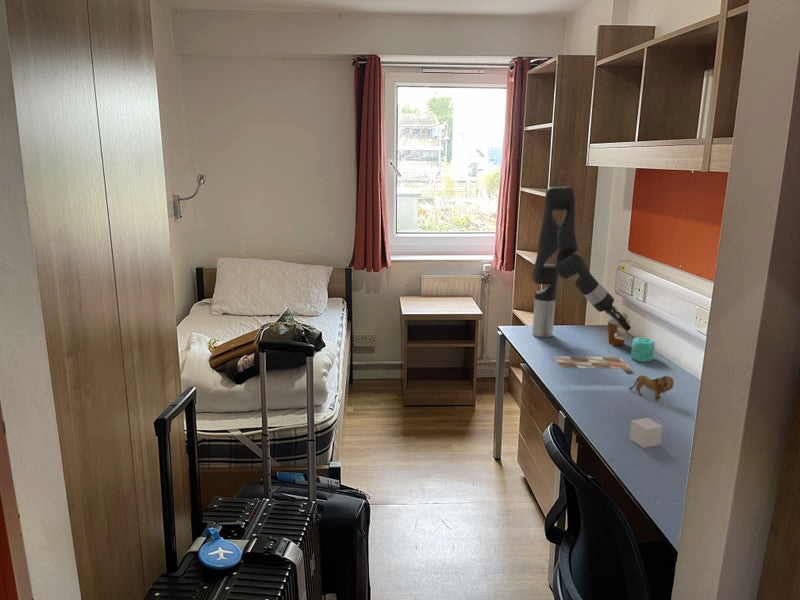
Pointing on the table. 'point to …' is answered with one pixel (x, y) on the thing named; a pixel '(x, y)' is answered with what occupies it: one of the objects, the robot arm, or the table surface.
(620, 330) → the pawn
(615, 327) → the disposable coffee cup
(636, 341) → the decorative dice
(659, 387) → the lion figurine
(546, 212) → the robot arm
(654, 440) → the beige cube
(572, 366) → the board
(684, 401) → the table surface
